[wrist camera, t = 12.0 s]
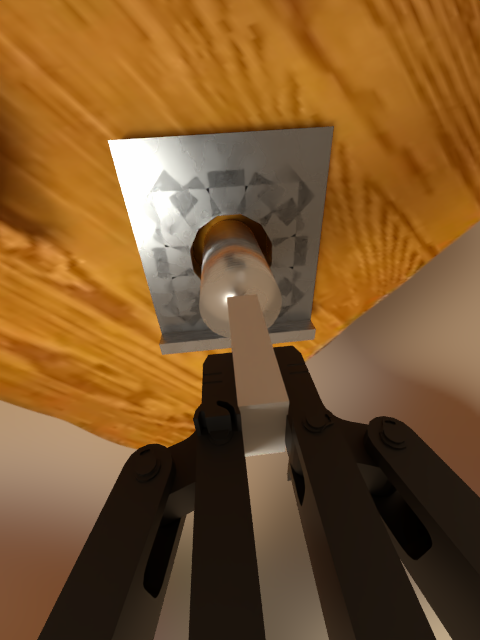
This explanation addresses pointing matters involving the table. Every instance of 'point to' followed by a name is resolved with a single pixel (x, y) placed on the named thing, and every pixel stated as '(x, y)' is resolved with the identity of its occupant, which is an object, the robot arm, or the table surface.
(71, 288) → the table surface
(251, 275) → the brushed metal cylinder
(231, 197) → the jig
